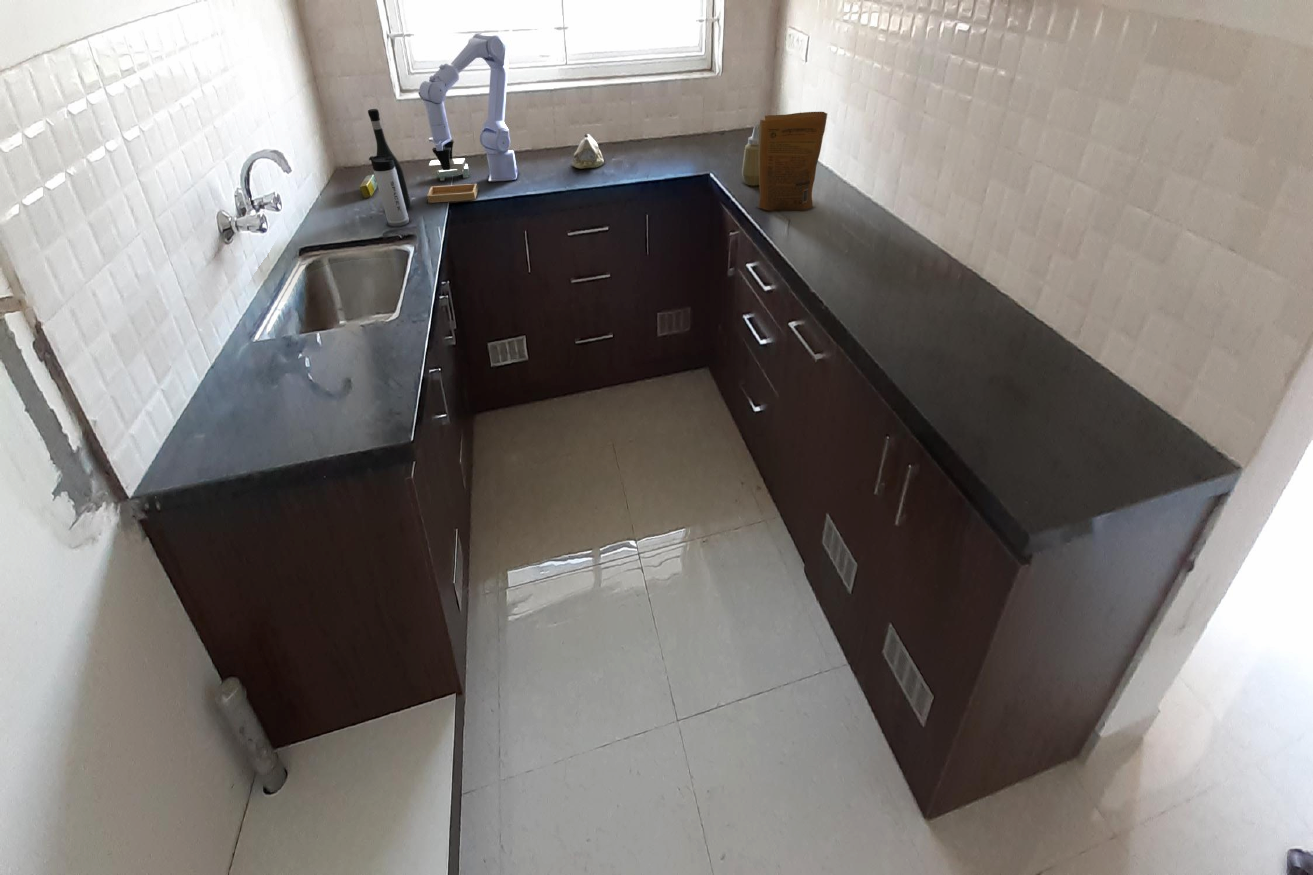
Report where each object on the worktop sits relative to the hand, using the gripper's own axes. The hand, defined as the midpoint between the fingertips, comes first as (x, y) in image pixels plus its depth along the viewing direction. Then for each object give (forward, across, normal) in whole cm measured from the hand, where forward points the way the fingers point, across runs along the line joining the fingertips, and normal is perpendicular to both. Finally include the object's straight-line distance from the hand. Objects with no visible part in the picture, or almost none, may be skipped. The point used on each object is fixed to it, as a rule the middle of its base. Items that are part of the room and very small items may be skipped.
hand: (447, 167), depth 233 cm
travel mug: (+9, +23, -14) cm, 28 cm away
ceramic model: (+9, -24, +46) cm, 52 cm away
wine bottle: (+9, +11, -16) cm, 21 cm away
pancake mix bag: (+9, +33, +105) cm, 111 cm away
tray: (+9, +2, 0) cm, 9 cm away
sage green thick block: (+9, -18, -2) cm, 20 cm away
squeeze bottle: (+9, +9, +100) cm, 101 cm away
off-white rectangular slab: (+2, 0, 0) cm, 2 cm away
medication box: (+9, -7, -29) cm, 31 cm away
